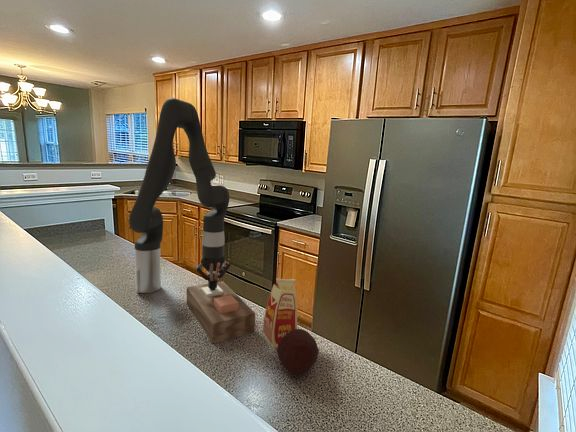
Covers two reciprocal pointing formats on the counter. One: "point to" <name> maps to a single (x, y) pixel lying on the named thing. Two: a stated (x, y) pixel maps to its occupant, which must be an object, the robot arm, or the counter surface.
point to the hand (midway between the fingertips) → (212, 289)
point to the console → (216, 323)
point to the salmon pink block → (225, 304)
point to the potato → (297, 352)
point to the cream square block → (209, 293)
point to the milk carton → (280, 311)
